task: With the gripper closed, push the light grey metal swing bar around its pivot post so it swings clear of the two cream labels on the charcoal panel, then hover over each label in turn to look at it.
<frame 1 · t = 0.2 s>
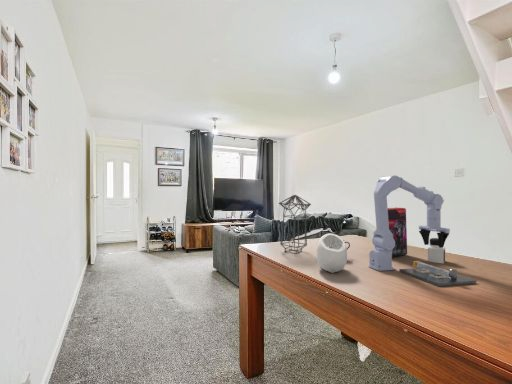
hand: (433, 245, 140), 10 cm above the table, tool pointing down, fingers open, 7 cm apart
skull planter: (331, 269, 134), on the table
geometric lantern: (294, 252, 173), on the table
coffee mug: (339, 258, 157), on the table
medicine bottle: (436, 261, 149), on the table
graphics card box: (392, 256, 163), on the table
cable arm: (433, 268, 121), point 3 cm above the table, hinge at 0.0°
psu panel: (435, 277, 121), on the table
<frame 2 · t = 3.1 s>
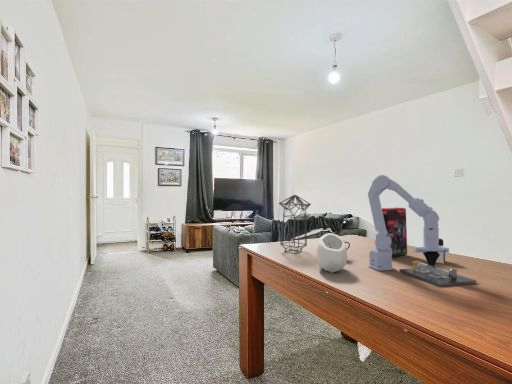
hand: (431, 268, 126), 2 cm above the table, tool pointing down, fingers closed
cable arm: (433, 268, 121), point 4 cm above the table, hinge at 0.5°, touching gripper
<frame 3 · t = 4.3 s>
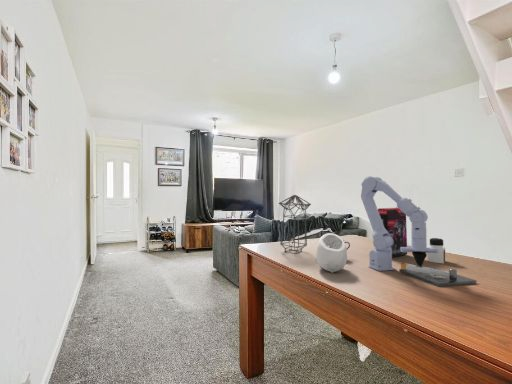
hand: (419, 269, 125), 2 cm above the table, tool pointing down, fingers closed
cable arm: (427, 269, 120), point 4 cm above the table, hinge at 26.3°, touching gripper
everything else where it was.
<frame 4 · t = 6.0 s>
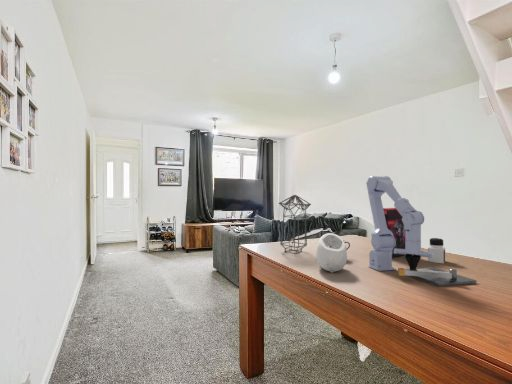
hand: (413, 272, 119), 2 cm above the table, tool pointing down, fingers closed
cable arm: (426, 272, 115), point 4 cm above the table, hinge at 60.9°, touching gripper
everything else where it was.
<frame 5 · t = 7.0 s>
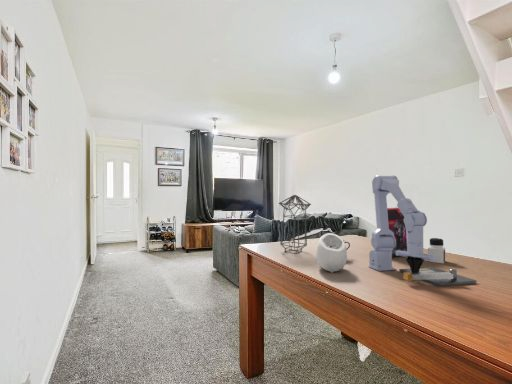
hand: (415, 276, 114), 2 cm above the table, tool pointing down, fingers closed
cable arm: (430, 275, 112), point 4 cm above the table, hinge at 81.4°, touching gripper
everything else where it was.
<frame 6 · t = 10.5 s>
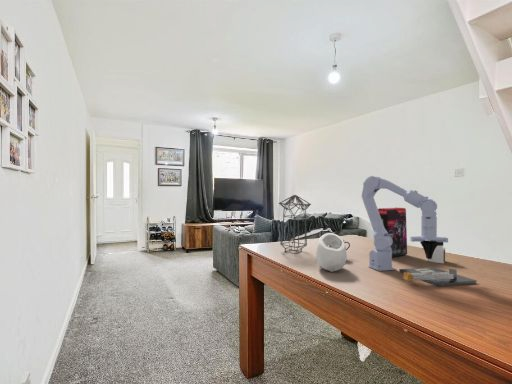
hand: (428, 258, 124), 7 cm above the table, tool pointing down, fingers closed
cable arm: (430, 275, 112), point 4 cm above the table, hinge at 81.6°
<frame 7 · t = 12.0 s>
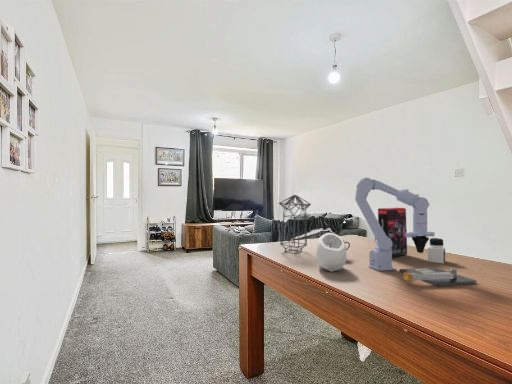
hand: (420, 252, 131), 8 cm above the table, tool pointing down, fingers closed
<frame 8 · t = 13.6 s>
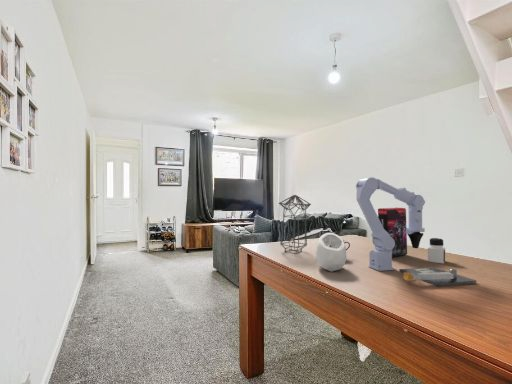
hand: (415, 247, 137), 9 cm above the table, tool pointing down, fingers closed
at the end: cable arm at +82° (first picture: +0°) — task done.
